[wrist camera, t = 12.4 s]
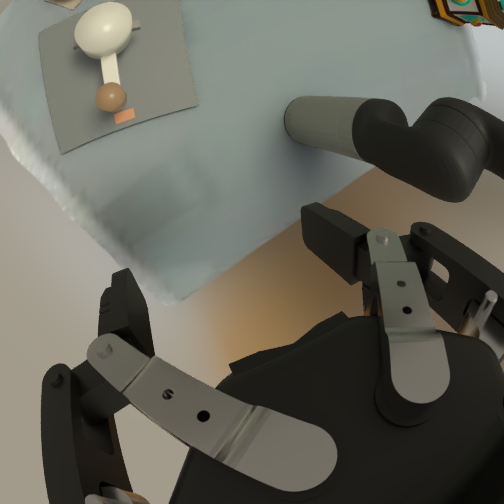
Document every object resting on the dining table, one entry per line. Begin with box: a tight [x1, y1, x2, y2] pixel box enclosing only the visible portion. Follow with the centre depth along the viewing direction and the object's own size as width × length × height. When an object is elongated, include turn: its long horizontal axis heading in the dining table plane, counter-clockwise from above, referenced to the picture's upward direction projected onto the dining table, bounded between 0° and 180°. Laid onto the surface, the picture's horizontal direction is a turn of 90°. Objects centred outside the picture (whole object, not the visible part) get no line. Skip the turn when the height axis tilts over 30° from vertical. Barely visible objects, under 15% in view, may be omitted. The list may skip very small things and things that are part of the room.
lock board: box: [39, 0, 199, 154], centre depth 26 cm, size 22×22×5 cm
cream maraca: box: [72, 2, 140, 112], centre depth 21 cm, size 15×9×8 cm, turn 7°
